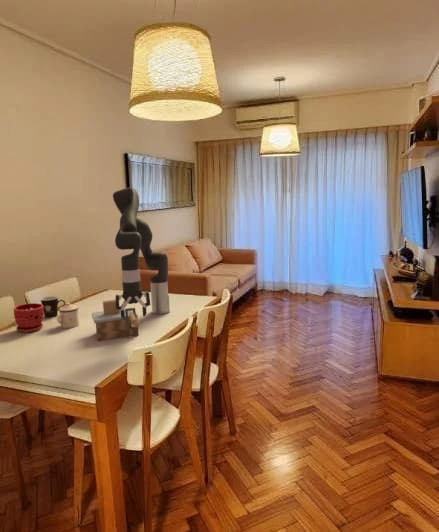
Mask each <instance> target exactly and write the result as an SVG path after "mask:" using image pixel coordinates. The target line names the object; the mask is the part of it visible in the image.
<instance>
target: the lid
mask: <svg viewBox="0 0 439 532" xmlns="http://www.w3.org/2000/svg"><path fill="white" fill-rule="evenodd" d="M102 308H103V311H95V312H91V318H92V319H93V320H92V321H93V323H94V324H95V325H96V323H102V322H109V321H117V320H124V319H123V318H122V317H121V311H120V310H117V309H116V299H112V300H111V299H110V300H103V301H102ZM128 308H129V307H128ZM128 308H126V307H125V308H124V314H125V309H128ZM131 312H133V310H131V311H128V319H130V317H129V313H131ZM136 318H137V319H139V317H138V313H137V312H136ZM125 319H126V315H125Z"/></svg>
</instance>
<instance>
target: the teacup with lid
mask: <svg viewBox="0 0 439 532" xmlns="http://www.w3.org/2000/svg"><path fill="white" fill-rule="evenodd" d="M58 309H59V310H58V312H59V314H58V315H57V316H56V318H57V319H56V321H57V323H58V324H60V327H61V328H63V329H71V328H76V327H78V326H79V325H80V320H79V318H80V316H79V307H78V306H77V305H73V304H71V302H65V305H64V306H63V305H62V306H61V307H60V308H58Z"/></svg>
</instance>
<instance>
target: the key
mask: <svg viewBox="0 0 439 532" xmlns="http://www.w3.org/2000/svg"><path fill="white" fill-rule="evenodd" d="M129 317H130V320H131V326H132V327H138V328H139V326H140V325H139V318H137V319H136V318H135V316H134V314H133V312H131V313H129Z"/></svg>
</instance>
